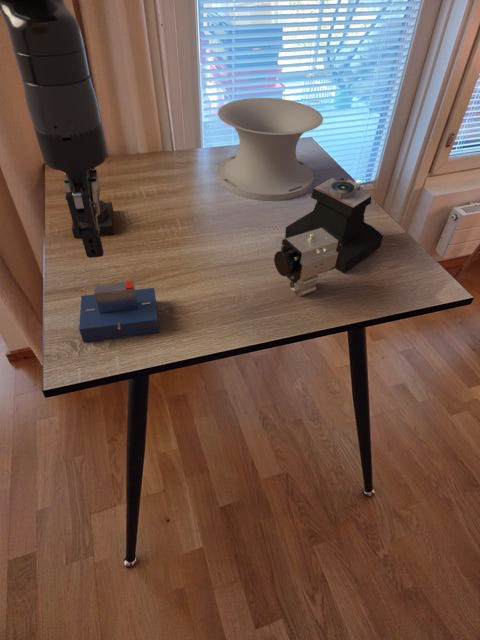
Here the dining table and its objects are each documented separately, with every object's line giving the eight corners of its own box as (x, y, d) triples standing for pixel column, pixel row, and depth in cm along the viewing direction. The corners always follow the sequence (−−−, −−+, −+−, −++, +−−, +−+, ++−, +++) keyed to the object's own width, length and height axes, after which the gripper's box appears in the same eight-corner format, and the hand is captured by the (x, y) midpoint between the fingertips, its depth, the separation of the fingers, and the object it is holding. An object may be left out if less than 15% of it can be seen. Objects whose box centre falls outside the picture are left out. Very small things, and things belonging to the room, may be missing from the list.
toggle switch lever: (99, 313, 66) (93, 292, 63) (99, 305, 68) (94, 284, 65) (137, 308, 67) (133, 287, 64) (137, 300, 69) (133, 279, 66)
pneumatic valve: (269, 291, 77) (276, 235, 68) (319, 273, 81) (331, 218, 73) (286, 309, 73) (295, 253, 65) (337, 289, 78) (352, 234, 69)
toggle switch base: (83, 347, 65) (78, 333, 63) (85, 304, 72) (81, 290, 70) (160, 337, 67) (158, 323, 65) (155, 296, 74) (153, 282, 72)
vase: (325, 171, 114) (337, 110, 103) (289, 210, 98) (299, 143, 87) (245, 150, 122) (247, 91, 111) (199, 183, 106) (197, 119, 95)
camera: (288, 181, 80) (338, 154, 86) (285, 242, 90) (329, 214, 97) (356, 214, 71) (405, 182, 78) (343, 277, 82) (387, 244, 89)
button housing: (74, 238, 86) (69, 221, 84) (76, 213, 93) (72, 197, 91) (113, 234, 88) (110, 217, 85) (113, 210, 95) (110, 194, 92)
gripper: (39, 101, 53) (71, 215, 64) (24, 146, 43) (65, 271, 54) (100, 99, 54) (121, 211, 65) (100, 142, 44) (124, 265, 56)
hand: (96, 238), depth 60 cm, fingers open, 8 cm apart
